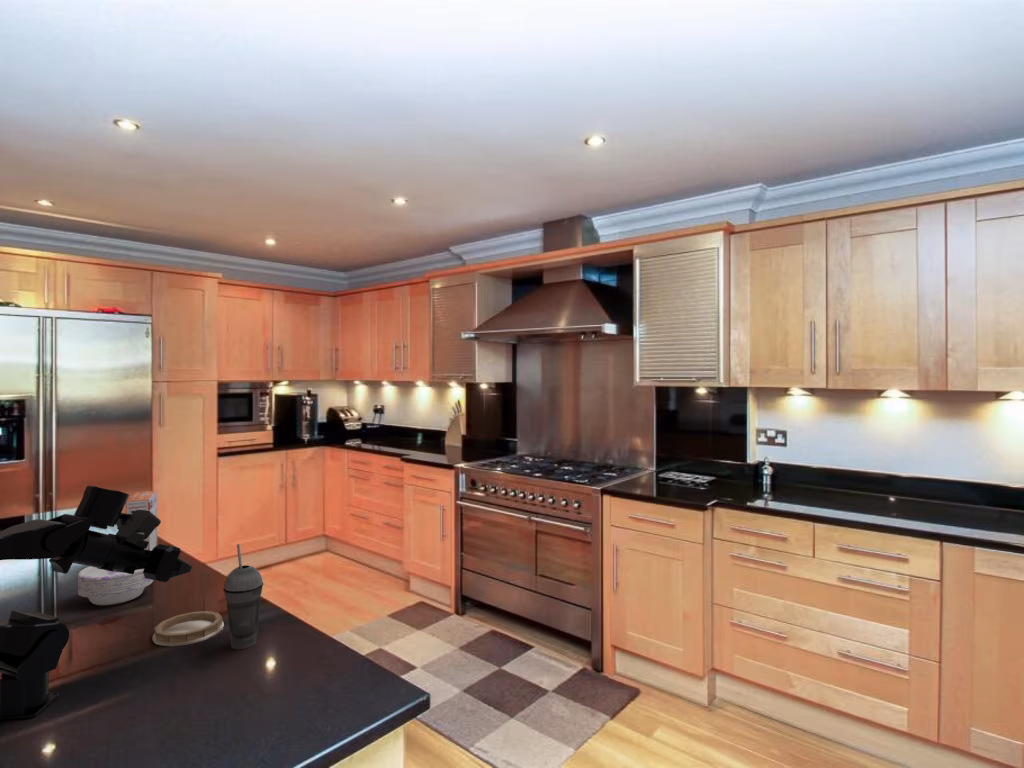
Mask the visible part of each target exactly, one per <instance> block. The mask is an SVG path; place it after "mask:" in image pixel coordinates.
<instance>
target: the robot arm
mask: <svg viewBox="0 0 1024 768" xmlns="http://www.w3.org/2000/svg"><path fill="white" fill-rule="evenodd" d="M129 498H130V494H129V493H127V492H123V491H119V490H116V489H115V490H114V489H108V488H103V487H100V486H99V487H98V486H96V485H87V486H86V487H85V490H84V492H83V495H82V498H81V500H80V502H79V504H78V505H77V508H76V510H75V512H74V513H73V514H68V513H64V514H60V515H58V516H55V517H52V518H49V519H38V518H37V519H32V520H29V521H26V522H22V523H19V524H15V525H11V526H9V527H7V528H5V529H3V530H0V561H4V560H5V561H7V560H8V561H9V560H17V561H18V560H23V561H24V560H27V561H28V560H29V561H30V560H45V559H46V560H47V559H48V562H49V563H50V566H51V569H52V572H56V573H61V574H63V575H67V574H68V573H69V571H70V569H71V567H72V566H73V564H74V565H75V564H76V565H82V566H87V567H89V566H91V567H97V568H98V569H102V570H107V571H113V572H114V571H116V572H123V573H128V574H134V572H135V570H140V569H144V571H143V574H144V577H145V578H146V579H151V580H153V581H156V582H157V581H158V582H161V583H162V582H163V583H167V582H168V581H169V580H170V579H172V578H175V577H178V576H181V575H185V574H188V573H190V572H191V570H192V568H193V567H192V565H191V564H189V563H187V562H185V561H183V560H182V559H180V558H179V557H180V554H181V548H180V547H177V546H174V545H167V544H162V543H158V544H157V546H156V547H154V548H153V550H152V551H151V550H145V549H146V548H147V546H148V544H149V542H148V541H144V540H145V539H147V538H148V536H149V535H150V534H151V533H152V532H153V530H154V529H155V528H156V527H157V528H158V527H159V526H160V524H161V521H162V520H161V519H160V518H158V516H157V517H156V516H155V515H154V514H152V513H151V512H150V511H146V510H136V511H131V513H132V514H126V512H125V513H124V512H123V510H124V508H125V507H126V501H127V500H128V499H129ZM115 526H116V529H117V530H118V531H117V532H116V533H115V534H114V533H108V534H107V533H103V532H100V531H95V530H91V529H90V528H95V529H101V530H107V529H108V527H110V528H115ZM59 620H60V617H56V616H53V615H50V614H49V615H48V614H46V613H42V612H38V611H35V612H34V611H33V612H29V613H26V612H25V613H24V612H21V611H16V610H11V611H10V616H9V618H8V619H4V620H0V673H1V674H0V721H5V720H4V719H8V720H17V719H16V718H19V719H26V718H27V719H29V718H34V717H36V716H37V715H39V714H40V713H41V712H42V711H43V710H45V708H47V705H48V706H49V705H50V704H51V703H52V702H54V700H56V698H59V695H60V693H59V692H49V690H50V689H49V688H50V687H49V686H50V685H49V684H50V683H49V680H50V679H49V677H50V676H49V672H51V671H54V670H56V669H57V667H58V665H59V661H60V659H61V655H62V653H63V650H64V649H65V647H66V646H67V644H68V642H69V639H70V630H69V628H68V625H66V624H65V623H61V622H59Z"/></svg>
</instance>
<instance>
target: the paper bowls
mask: <svg viewBox="0 0 1024 768" xmlns="http://www.w3.org/2000/svg"><path fill="white" fill-rule="evenodd" d="M143 571H144V569H140V570H135V572H134V574H128V573H123V572H116V571H114V572H113V571H107V570H102V569H98V568H97V567H91V566H87V567H85V568H83V569H82V570H80V571H79V572H78V574H77V583H78V584H77V585H78V586H77V587H78V588H77V594H78V596H80V597H84V598H87V599H88V600H89V601H90V603H92V604H93V605H96V606H113V605H118V604H123V603H126V602H129V601H130V602H131V600H134V599H136V598H138V597H139V596H141V595H142V594H143V592H144V591H145V589H146V587H148V586H149V585H151V584H152V583H153V582H154V580H151V579H146V578H145V577H144V574H143Z"/></svg>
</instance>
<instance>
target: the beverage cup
mask: <svg viewBox="0 0 1024 768" xmlns="http://www.w3.org/2000/svg"><path fill="white" fill-rule="evenodd" d="M240 546H241V545H240V543H237V544H236V548H237V558H238V559H237V561H238V566H237V567H235V568H234V569H232V570H231V571H230V573H228V575H227V577H226V578H225V581H224V585H223V586H224V587H223V589H222V590H223V593H224V597H225V601H226V609H227V612H226V613H227V619H228V630H229V638H230V644H231V645H230V647H231V649H234V650H245V649H248V648H251V647H253V646H255V644H257V638H258V637H257V636H258V627H259V618H260V606H261V605H260V604H261V595H262V593H263V586H264V581H263V577H262V575H261V573H260V571H259V570H258V569H257V568H256V567H255V566H252V565H248V564H247V565H243V563H242V554H241V547H240Z"/></svg>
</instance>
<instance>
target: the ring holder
mask: <svg viewBox="0 0 1024 768" xmlns="http://www.w3.org/2000/svg"><path fill="white" fill-rule="evenodd" d="M224 626H225V624H224V621H223V616H222V615H221V614H220V613H219V612H216V611H210V610H205V611H204V610H202V611H192V612H186V613H182V614H177V615H174V616H171V617H170V618H166V619H165V620H162V621H161V622H159V624H157V625H156V626H155V627H154V633H153V635H152V642H153V644H155V645H158V646H161V647H180V646H187V645H192V644H193V645H194V644H195V643H200V642H203V641H205V640H208V639H210V638H213V637H215V636H217V635H218V634H220V633H221V632H220V631H221V630H222V631H223V630H224V628H223V627H224Z"/></svg>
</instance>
